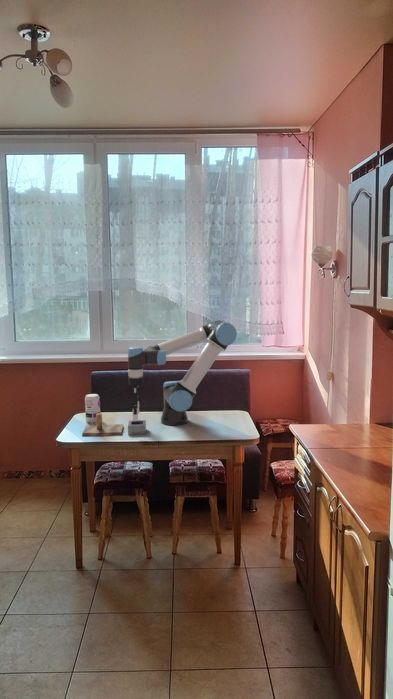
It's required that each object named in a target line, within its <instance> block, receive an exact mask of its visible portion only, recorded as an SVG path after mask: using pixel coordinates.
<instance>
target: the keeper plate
mask: <svg viewBox="0 0 393 699" xmlns="http://www.w3.org/2000/svg"><path fill="white" fill-rule="evenodd" d="M95 423H96V424H87V425H85V426H84V429H83V431H82V433H81V435H82V437H97V436H98V437H100V436H101V437H102V436H122V434H123V430H124V424H123V423H122V424H121V423H119V424H117V423H116V424H103V414H102V413H101V412H100V413H98V414H96V422H95Z"/></svg>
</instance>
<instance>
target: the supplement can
mask: <svg viewBox="0 0 393 699" xmlns="http://www.w3.org/2000/svg"><path fill="white" fill-rule="evenodd" d="M100 398H101V397H100V396H99V394H98V393H89V394H86V395H85V397H84V407H85V408H84V409H85V421H86V422H87V423H91V424H95V423H96V414H98V413H101V399H100Z"/></svg>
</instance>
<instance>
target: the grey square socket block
mask: <svg viewBox="0 0 393 699" xmlns="http://www.w3.org/2000/svg"><path fill="white" fill-rule="evenodd" d="M146 434H147V420H146V419H145V420H143V419H142V420H141V419H140V420H139V419H138V420H136V421H133V420H128V424H127V435H128V436H138V435H142V436H143V435H146Z"/></svg>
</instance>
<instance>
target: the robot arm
mask: <svg viewBox="0 0 393 699" xmlns="http://www.w3.org/2000/svg"><path fill="white" fill-rule="evenodd" d="M237 336H238V332H237V329H236V327H235V325H233V324H232V323H230V322H229V321H224V320H220V319H219V320H215V321H213V322H210V323H207V324H205V325H203V326H202V325H201V326H200V327H199V329H196V330H193V331H190V332H187V333H185V334H182V335H180V336H177V337H174V338H172V339H169V340H166V341H163V342H160V343H158V344H154V345H148V346H146V347H145V348H144V349H143V347H142V346H131V347H129V348H128V350H127V351H128V352H127V369H128V370H126V373H128V385H129V386H131V396H132V406H131V409H132V421H136V420H139V414H140V401H141V398H140V386H142V385H143V384H144V366H161V365H162V366H163V365H165V364H166V362H167V356H170V355H172V354H175V353H178V352H180V351H183V350H185V349H189V348H191V347H194V346H197V345H200V344H202V343H205V346H204V347H203V348H202V350H201V352H200V353H199V354H198V356H197V358H196V359H195V360H194V361H193V364H192V365H191V366H190V368H189V369H188V371H187V372H186V374H185V375H184V376H183V378H182V379H181V380H173V381H172V380H170V381H165V382H164V383H163V387H162V390H163V411H162V413H161V416H160V423H161V424H163V425H166V426H168V425H169V426H182V425H185V424H187V423H188V422H189V417H188V414H187V410H189V409H190V408H191V406H192V404H193V398H194V397H195V395H196V394H197V391H196V389H197V388H198V386H199V384H200V383H201V381H202V380H203V378H204V377H205V375H207V373H208V371H209V369H211V367H212V365H213V364H214V362H215V361H216V359H217V358H218V356H219V355H220V354H221V352H225V351H226V349H227V348H228V347H229V346H230V345H232V344H233V343H234V342H235V341H236V339H237Z"/></svg>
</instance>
